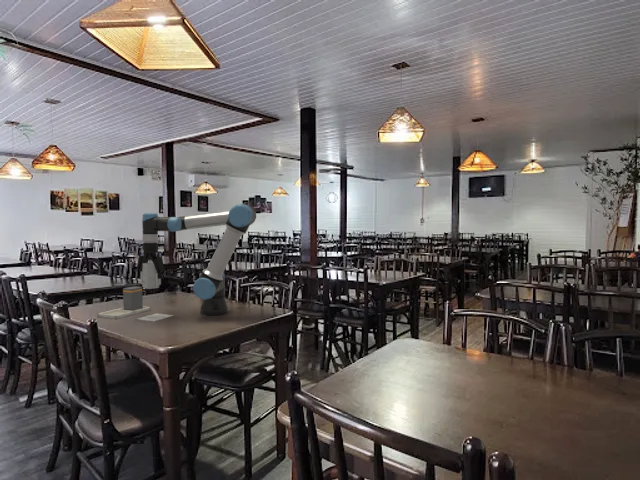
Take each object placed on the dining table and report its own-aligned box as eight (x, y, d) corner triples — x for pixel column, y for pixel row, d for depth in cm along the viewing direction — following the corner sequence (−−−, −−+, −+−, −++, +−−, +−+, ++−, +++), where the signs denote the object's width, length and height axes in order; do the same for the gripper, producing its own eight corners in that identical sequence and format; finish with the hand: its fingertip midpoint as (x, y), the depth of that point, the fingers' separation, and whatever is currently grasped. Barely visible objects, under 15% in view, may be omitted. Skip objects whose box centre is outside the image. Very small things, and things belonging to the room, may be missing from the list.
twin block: (142, 309, 241) (142, 287, 241) (131, 312, 234) (131, 289, 233) (134, 308, 244) (134, 286, 243) (123, 311, 236) (122, 288, 236)
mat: (173, 315, 228) (173, 315, 228) (153, 321, 215) (153, 321, 215) (156, 313, 232) (156, 313, 232) (136, 319, 220) (136, 318, 220)
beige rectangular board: (151, 310, 242) (150, 307, 242) (116, 319, 220) (116, 316, 220) (132, 308, 247) (132, 305, 247) (97, 316, 225) (97, 313, 225)
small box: (159, 288, 222) (159, 263, 221) (146, 289, 218) (146, 264, 217) (154, 286, 228) (154, 262, 228) (142, 287, 224) (141, 262, 224)
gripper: (172, 242, 221) (172, 284, 222) (139, 241, 230) (140, 281, 231) (161, 243, 214) (161, 286, 215) (128, 241, 223) (129, 283, 224)
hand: (150, 284), depth 223 cm, fingers closed on small box, 10 cm apart
